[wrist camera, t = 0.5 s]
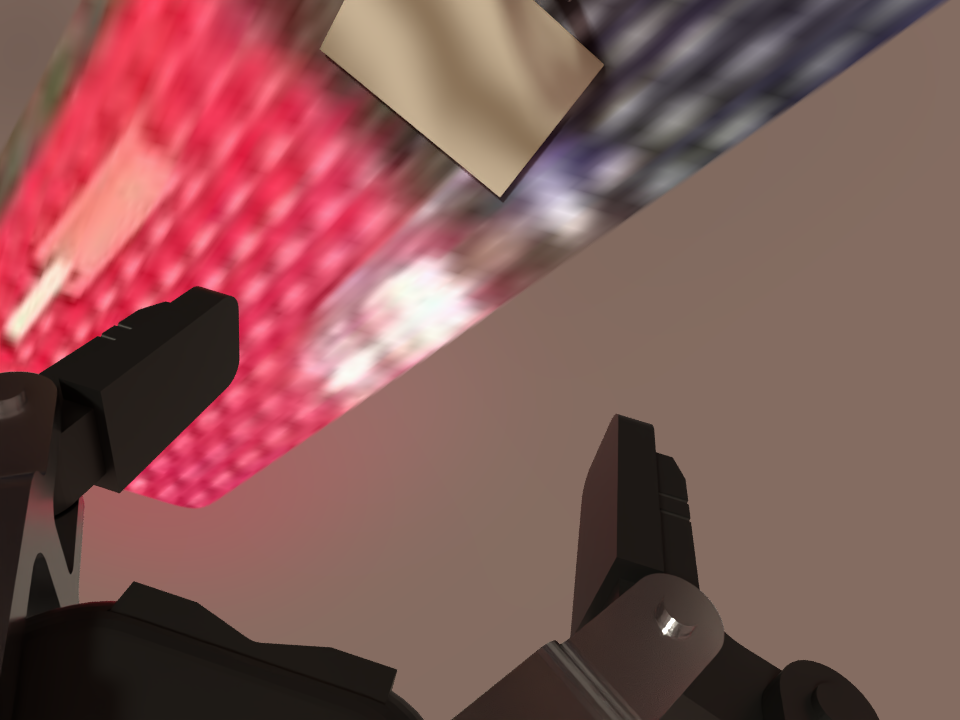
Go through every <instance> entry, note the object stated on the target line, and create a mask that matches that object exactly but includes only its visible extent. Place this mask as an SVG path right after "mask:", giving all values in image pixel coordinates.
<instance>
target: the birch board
mask: <svg viewBox="0 0 960 720" xmlns="http://www.w3.org/2000/svg"><path fill="white" fill-rule="evenodd" d="M320 50H321V51H323V52H324V53H325V54H326V55H327V56H329V57H330V58H331V59H332V60H334V61H335V62H336V63H337V64H338V65H340V66H341V67H342V68H343V69H344V70H346V71H347V72H348V73H349V74H351V75H352V76H353V77H354V78H355V79H357V80H358V81H359V82H360V83H362V84H363V85H364V86H365V87H366V88H368V89H369V90H370V91H371V92H372V93H374V94H375V95H376V96H377V97H379V98H380V99H381V100H382V101H383V102H385V103H386V104H387V105H388V106H389V107H391V108H392V109H393V110H394V111H396V112H397V113H398V114H399V115H400V116H402V117H403V118H404V119H405V120H406V121H408V122H409V123H410V124H411V125H413V126H414V127H415V128H416V129H417V130H419V131H420V132H421V133H422V134H424V135H425V136H426V137H427V138H428V139H430V140H431V141H432V142H433V143H434V144H436V145H437V146H438V147H439V148H441V149H442V150H443V151H444V152H445V153H447V154H448V155H449V156H450V157H451V158H453V159H454V160H455V161H456V162H458V163H459V164H460V165H461V166H462V167H464V168H465V169H466V170H467V171H468V172H470V173H471V174H472V175H473V176H475V177H476V178H477V179H478V180H479V181H481V182H482V183H483V184H484V185H486V186H487V187H488V188H489V189H490V190H492V191H493V192H494V193H495V194H496V195H498V196H499V197H501V196H502V194H503V193H504V192H505V190H506V189H507V188H508V187H509V185H510V184H511V183H512V182H513V180H514V179H515V178H516V176H517V175H518V174H519V173H520V171H521V170H522V169H523V168H524V166H525V165H526V164H527V163H528V161H529V160H530V159H531V157H532V156H533V155H534V154H535V152H536V151H537V150H538V149H539V147H540V146H541V145H542V143H543V142H544V141H545V140H546V138H547V137H548V136H549V135H550V133H551V132H552V131H553V129H554V128H555V127H556V126H557V124H558V123H559V122H560V121H561V119H562V118H563V117H564V115H565V114H566V113H567V112H568V110H569V109H570V108H571V107H572V105H573V104H574V103H575V101H576V100H577V99H578V98H579V96H580V95H581V94H582V93H583V91H584V90H585V89H586V87H587V86H588V85H589V84H590V82H591V81H592V80H593V79H594V77H595V76H596V75H597V73H598V72H599V71H600V70H601V68H602V67H603V66H604V64H603V63H602V62H601V61H600V60H599V59H597V58H596V57H595V56H594V55H593V54H592V53H591V52H590V51H589V50H588V49H586V48H585V47H584V46H583V45H582V44H581V43H580V42H579V41H578V40H577V39H576V38H574V37H573V36H572V35H571V34H570V33H569V32H568V31H567V30H566V29H565V28H563V27H562V26H561V25H560V24H559V23H558V22H557V21H556V20H555V19H554V18H552V17H551V16H550V15H549V14H548V13H547V12H546V11H545V10H544V9H543V8H541V7H540V6H539V5H538V4H537V3H536V2H535V1H534V0H344V2H343V4H342V6H341V8H340V10H339V12H338V14H337V16H336V18H335V20H334V22H333V24H332V26H331V28H330V30H329V32H328V34H327V36H326V38H325V40H324V42H323V44H322V46H321V48H320Z"/></svg>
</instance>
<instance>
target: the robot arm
mask: <svg viewBox="0 0 960 720" xmlns="http://www.w3.org/2000/svg"><path fill="white" fill-rule="evenodd" d="M238 365H239V309H238V303H237V300H236V299H235V298H234V297H232V296H229V295H226V294H223V293H219V292H216V291H213V290H209V289H206V288H203V287H199V286H196V287H193V288H192V289H190V290H188V291H187V292H186V293H184V294H183V295H181V296H180V297H178V298H177V299H175V300H174V301H172V302H171V303H169V302H166V301H165V302H162V303H159V304H156V305H153V306H149V307H146V308H143V309H140V310H138V311H136V312H135V313H133V314H131V315H130V316H128V317H127V318H125V319H124V320H122V321H121V322H119V324H118V326H115V325H114V326H113V327H111V328H110V329H108V330H107V331H105V332H103V333H102V336H101V337H99V336H97V337H96V338H94V339H93V340H91V341H89V342H88V343H86V344H85V345H83V346H82V347H80V348H79V349H77V350H75V351H74V352H72V353H71V354H69V355H68V356H66V357H65V358H63V359H61V360H60V361H58V362H57V363H55V364H54V365H52V366H51V367H49V368H47V369H46V370H44V371H43V372H41V373H40V374H36V373H30V372H5V373H0V720H423V718H422V717H421V716H420V714H419V713H418V712H417V711H416V710H415V709H414V708H413V707H412V706H410V705H409V704H408V703H407V702H406V701H405V700H404V699H403V698H401V697H400V696H398V695H397V694H395V693H394V692H393V691H392V688H393V684H394V680H395V676H396V672H397V670H396V669H394V668H391V667H388V666H385V665H382V664H379V663H376V662H373V661H370V660H367V659H364V658H361V657H358V656H355V655H352V654H349V653H346V652H343V651H340V650H337V649H334V648H330V647H316V646H301V645H285V644H269V643H259V642H254V641H252V640H250V639H248V638H247V637H245V636H244V635H242V634H241V633H239V632H238V631H236V630H235V629H234V628H232V627H231V626H230V625H228V624H227V623H225V622H224V621H223V620H221V619H220V618H218V617H217V616H216V615H214V614H212V613H211V612H210V611H208V610H207V609H206V608H204V607H203V606H201V605H200V604H199V603H197V602H194V601H191V600H188V599H185V598H182V597H179V596H176V595H173V594H170V593H167V592H164V591H161V590H158V589H155V588H152V587H149V586H146V585H143V584H140V583H137V582H133V583H132V584H131V585H130V586H129V588H128V589H127V590H126V591H125V592H124V594H123V595H122V596H121V597H120V599H119V600H118V601H100V602H88V603H81V604H79V575H80V561H81V547H82V533H83V520H84V519H83V518H84V500H83V496H82V495H83V494H84V493H86V492H87V491H88V490H89V489H90V488H91V487H92V486H93V485H96V486H99V487H102V488H105V489H108V490H111V491H115V492H117V493H120V492H121V491H122V490H123V489H124V488H125V487H126V486H127V485H128V484H129V483H131V482H132V481H133V480H134V479H135V478H136V477H137V476H138V475H139V474H140V473H141V472H142V471H143V470H144V469H145V468H146V467H147V466H148V465H149V464H150V463H151V462H152V461H153V460H154V459H155V458H156V457H157V456H158V455H159V454H160V453H161V452H162V451H163V450H164V449H165V448H166V447H167V446H168V445H169V444H170V443H171V442H172V441H173V440H174V439H175V438H176V437H177V436H178V435H179V434H180V433H181V432H182V431H183V430H184V429H185V428H187V427H188V426H189V425H190V424H191V423H192V422H193V421H194V420H195V419H196V418H197V417H198V416H199V415H200V414H201V413H202V412H203V411H204V410H205V409H206V408H207V407H208V406H209V405H210V404H211V403H212V402H213V401H214V400H215V399H216V398H217V397H218V396H219V395H220V394H221V393H222V392H223V391H224V390H225V389H226V388H227V387H228V386H229V385H230V384H231V382H232V380H233V379H234V377H235V375H236V372H237V369H238ZM687 502H688V496H687V489H686V480H685V478H684V476H683V474H682V473H681V471H680V469H679V467H678V466H677V464H676V462H675V461H674V459H673V458H672V457H669V456H666V455H663V454H659V453H657V452H656V450H655V435H654V427H653V425H652V424H648V423H645V422H642V421H638V420H635V419H632V418H628V417H625V416H622V415H619V414H615V415H614V417H613V418H612V420H611V422H610V424H609V426H608V429H607V431H606V433H605V435H604V438H603V440H602V442H601V445H600V447H599V449H598V451H597V454H596V456H595V458H594V460H593V462H592V465H591V467H590V469H589V472H588V475H587V478H586V481H585V485H584V489H583V495H582V504H581V517H580V528H579V541H578V552H577V564H576V576H575V589H574V600H573V612H572V625H571V636H570V638H569V639H568V640H567V641H565V642H564V643H562V644H559V643H558V642H557V641H552V642H549V643H547V644H546V645H544V646H543V647H541V648H540V649H539V650H537V651H536V652H535V653H534V654H532V655H531V656H530V657H529V658H527V659H526V660H525V661H524V662H522V663H521V664H520V665H519V666H517V667H516V668H515V669H514V670H512V671H511V672H510V673H509V674H507V675H506V676H505V677H504V678H502V679H501V680H500V681H499V682H497V683H496V684H495V685H494V686H492V687H491V688H490V689H489V690H488V691H486V692H485V693H484V694H483V695H481V696H480V697H479V698H478V699H476V700H475V701H474V702H473V703H472V704H470V705H469V706H468V707H467V708H465V709H464V710H463V711H462V712H460V713H459V714H458V715H457V716H455V717H454V718H453V719H452V720H879V718H878V716H877V714H876V712H875V711H874V709H873V708H872V706H871V705H870V703H869V702H868V701H867V699H866V698H865V697H864V695H863V694H862V693H861V692H860V691H859V690H858V689H857V688H856V687H855V686H854V685H853V684H852V683H851V682H849V681H848V680H847V679H846V678H844V677H843V676H842V675H841V674H839V673H838V672H836V671H834V670H833V669H831V668H829V667H827V666H825V665H823V664H820V663H816V662H814V661H808V660H798V661H795V662H792V663H790V664H789V665H787V666H786V667H785V668H784V669H783V670H780V669H778V668H777V667H775V666H773V665H772V664H770V663H769V662H767V661H766V660H764V659H762V658H761V657H759V656H757V655H756V654H754V653H753V652H751V651H749V650H748V649H746V648H745V647H743V646H742V645H740V644H739V643H737V642H736V641H735V640H733V639H732V638H731V637H730V636H729V635H727V634H726V633H725V632H724V627H723V623H722V620H721V618H720V615H719V613H718V611H717V610H716V608H715V607H714V605H713V604H712V602H711V601H710V600H709V599H708V597H706V596H705V594H704V593H702V592H701V591H700V589H699V583H698V574H697V566H696V558H695V551H694V543H693V535H692V527H691V522H689V520H690V512H689V505H688V504H687Z"/></svg>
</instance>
